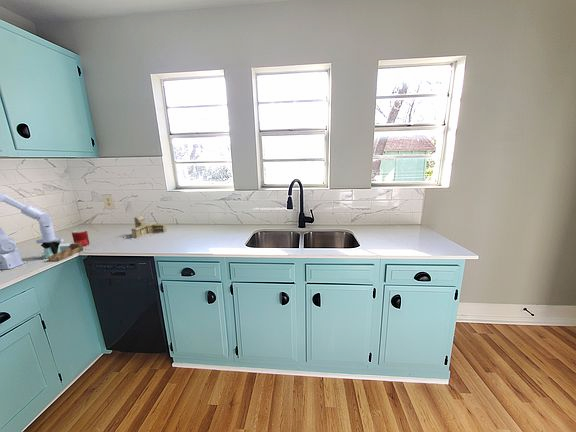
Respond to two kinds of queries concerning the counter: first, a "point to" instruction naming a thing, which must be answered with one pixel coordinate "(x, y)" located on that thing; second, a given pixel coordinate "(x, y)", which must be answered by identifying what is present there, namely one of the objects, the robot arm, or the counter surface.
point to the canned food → (81, 237)
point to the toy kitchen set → (146, 227)
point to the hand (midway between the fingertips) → (53, 253)
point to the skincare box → (64, 246)
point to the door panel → (50, 252)
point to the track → (67, 252)
